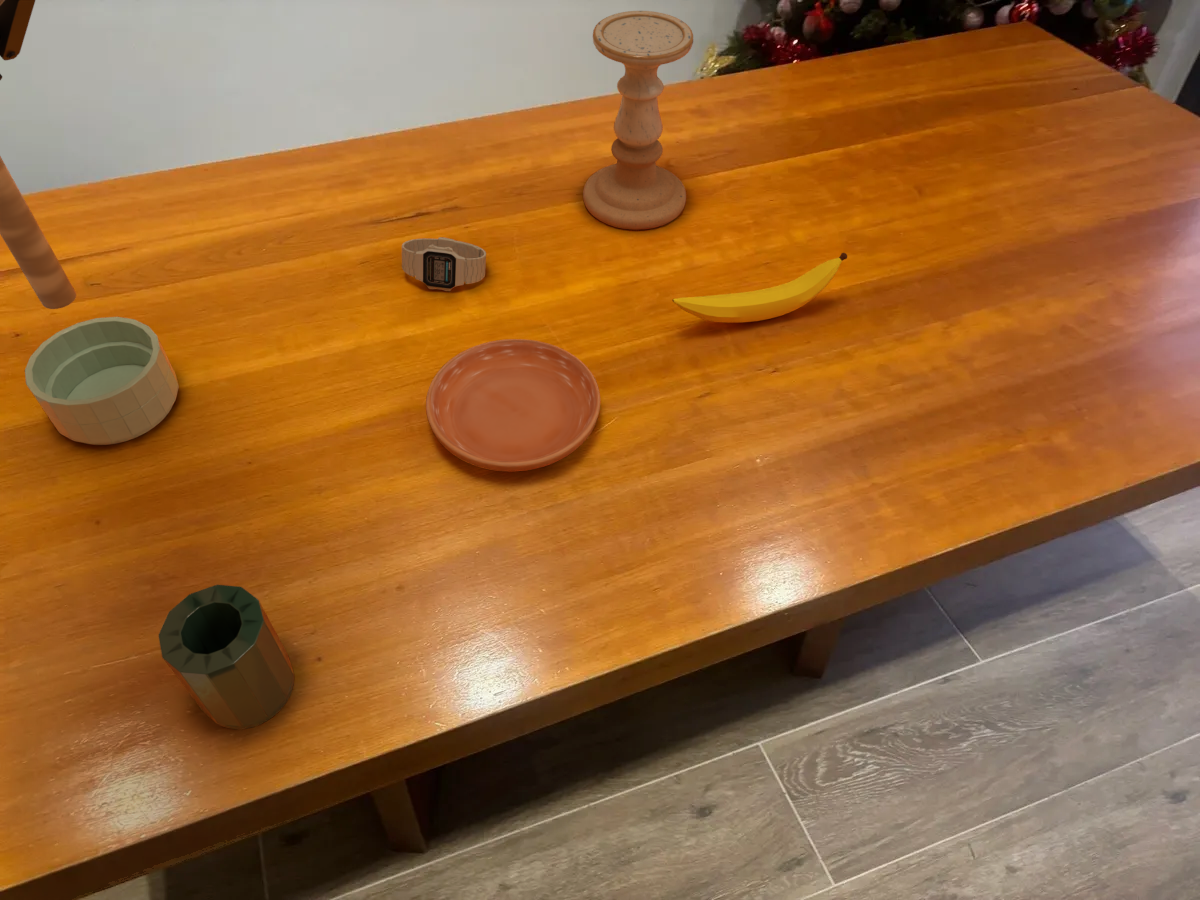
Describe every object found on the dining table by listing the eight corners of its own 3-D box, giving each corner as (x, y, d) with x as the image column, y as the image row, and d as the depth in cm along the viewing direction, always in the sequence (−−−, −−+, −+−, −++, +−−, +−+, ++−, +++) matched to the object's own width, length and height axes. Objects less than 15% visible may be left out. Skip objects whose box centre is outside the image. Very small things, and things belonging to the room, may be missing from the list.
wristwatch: (398, 289, 97) (391, 252, 93) (410, 253, 101) (403, 215, 97) (483, 294, 96) (479, 256, 92) (491, 257, 100) (488, 220, 97)
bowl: (60, 464, 80) (28, 420, 76) (51, 382, 87) (21, 336, 82) (189, 426, 84) (167, 381, 79) (172, 350, 90) (150, 304, 85)
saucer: (627, 392, 87) (628, 370, 85) (549, 510, 78) (548, 489, 76) (485, 340, 92) (483, 318, 89) (395, 446, 82) (390, 424, 80)
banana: (663, 327, 93) (668, 279, 89) (827, 292, 98) (840, 244, 93) (673, 346, 92) (678, 298, 87) (840, 309, 96) (853, 261, 91)
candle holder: (613, 242, 102) (619, 71, 87) (565, 186, 109) (563, 19, 94) (705, 214, 106) (726, 45, 91) (653, 161, 113) (664, -3, 98)
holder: (211, 744, 64) (167, 688, 57) (196, 666, 68) (152, 606, 61) (303, 707, 66) (271, 649, 59) (283, 634, 70) (251, 572, 63)
